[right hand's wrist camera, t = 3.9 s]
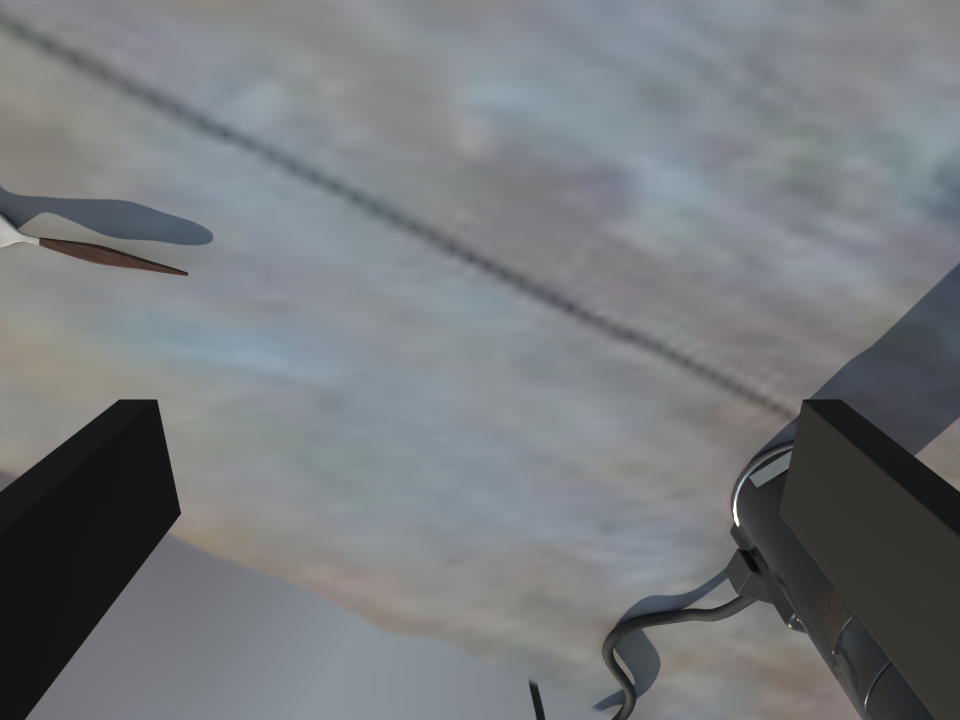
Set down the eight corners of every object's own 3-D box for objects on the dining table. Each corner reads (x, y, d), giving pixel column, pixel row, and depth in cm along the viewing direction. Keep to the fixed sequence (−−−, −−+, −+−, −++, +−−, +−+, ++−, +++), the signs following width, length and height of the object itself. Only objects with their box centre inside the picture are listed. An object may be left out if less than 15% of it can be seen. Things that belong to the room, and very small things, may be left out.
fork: (190, 291, 40) (176, 300, 38) (-67, 235, 39) (-94, 241, 37) (192, 253, 39) (178, 259, 37) (-70, 193, 38) (-99, 197, 36)
